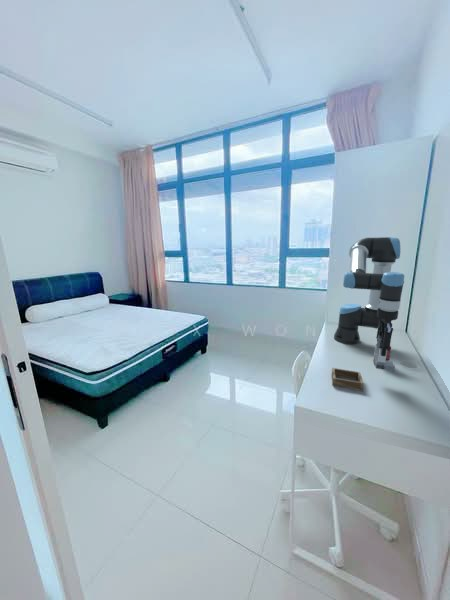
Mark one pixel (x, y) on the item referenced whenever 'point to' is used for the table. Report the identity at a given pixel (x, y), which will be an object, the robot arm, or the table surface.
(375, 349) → the soda can
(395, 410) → the table surface
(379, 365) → the bracket
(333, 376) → the wooden frame
